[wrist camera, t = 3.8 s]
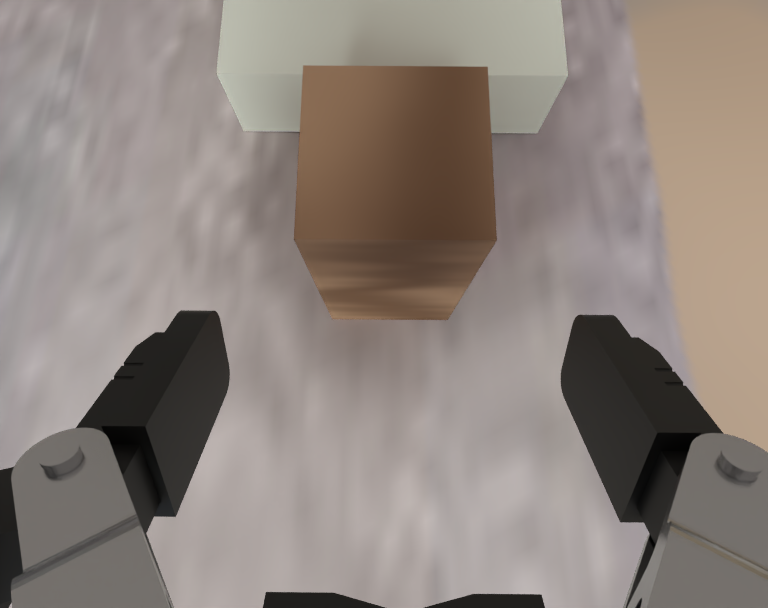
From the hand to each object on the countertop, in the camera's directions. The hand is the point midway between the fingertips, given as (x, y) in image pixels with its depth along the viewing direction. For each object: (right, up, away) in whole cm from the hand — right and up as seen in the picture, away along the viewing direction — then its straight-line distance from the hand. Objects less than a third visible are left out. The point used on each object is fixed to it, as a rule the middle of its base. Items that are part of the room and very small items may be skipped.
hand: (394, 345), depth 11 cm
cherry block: (0, +3, +11) cm, 11 cm away
